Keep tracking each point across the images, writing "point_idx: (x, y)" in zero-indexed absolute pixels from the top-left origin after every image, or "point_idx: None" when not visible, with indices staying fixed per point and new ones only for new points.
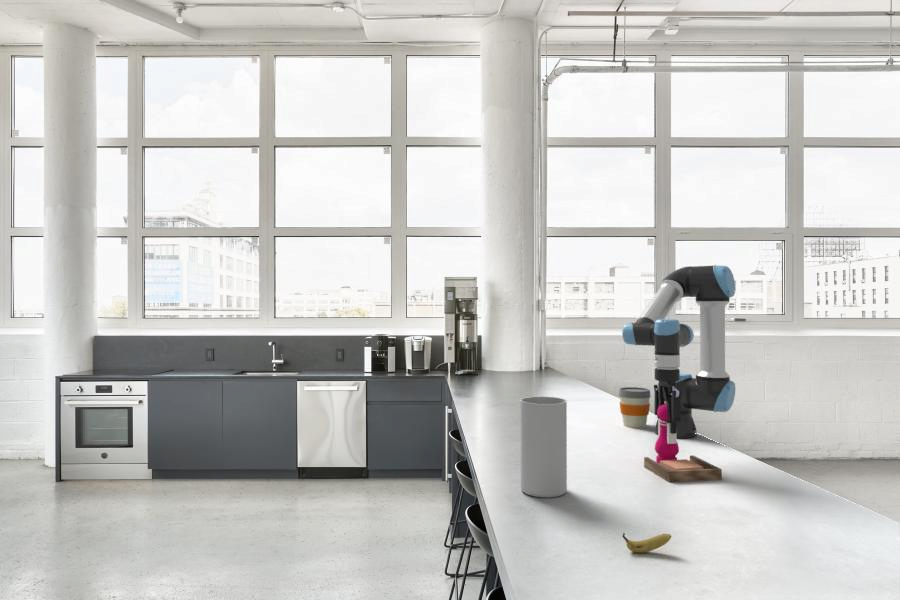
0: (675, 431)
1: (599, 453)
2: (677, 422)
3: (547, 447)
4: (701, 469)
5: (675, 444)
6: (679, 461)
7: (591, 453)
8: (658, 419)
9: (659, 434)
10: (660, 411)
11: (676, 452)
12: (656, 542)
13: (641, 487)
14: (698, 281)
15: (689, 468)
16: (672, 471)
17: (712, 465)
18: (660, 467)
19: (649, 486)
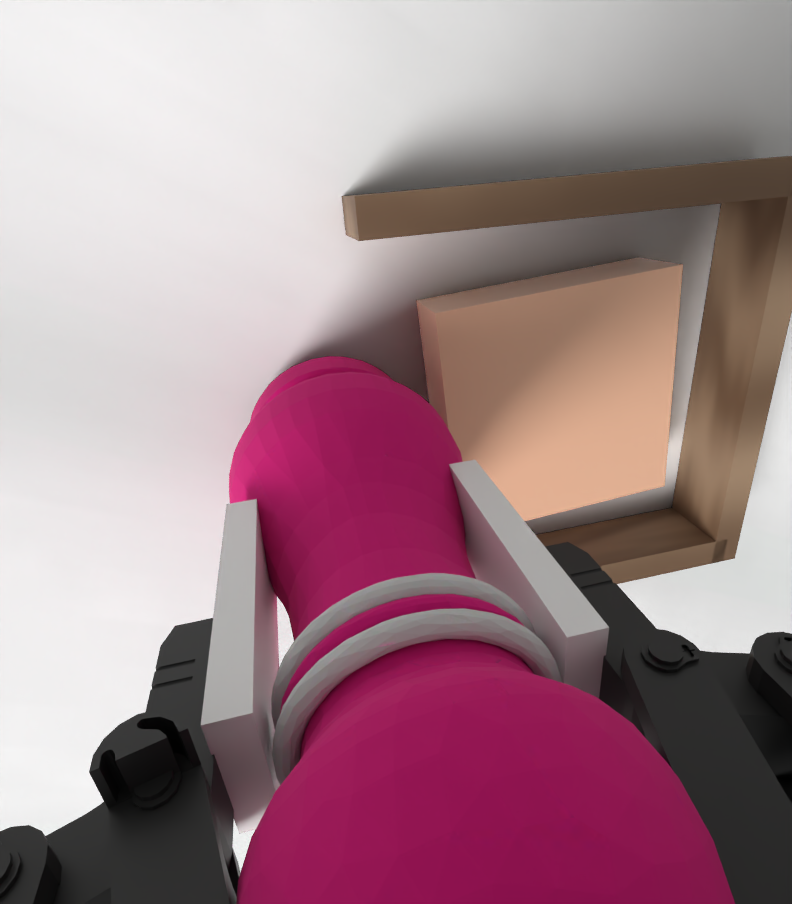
0: (588, 568)
1: (32, 788)
2: (672, 634)
3: None
4: (771, 333)
5: (454, 459)
6: (496, 399)
7: (43, 824)
8: (248, 819)
9: (275, 622)
10: None
11: (444, 422)
12: None
13: (715, 651)
14: None
15: (670, 387)
16: (739, 536)
17: (712, 177)
18: (635, 577)
19: (715, 619)
